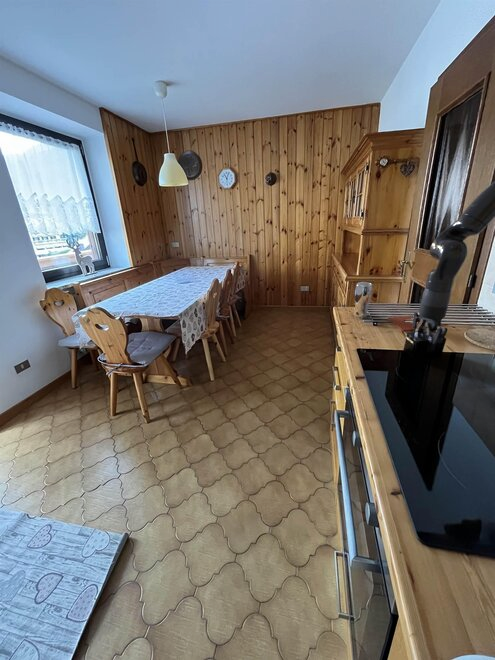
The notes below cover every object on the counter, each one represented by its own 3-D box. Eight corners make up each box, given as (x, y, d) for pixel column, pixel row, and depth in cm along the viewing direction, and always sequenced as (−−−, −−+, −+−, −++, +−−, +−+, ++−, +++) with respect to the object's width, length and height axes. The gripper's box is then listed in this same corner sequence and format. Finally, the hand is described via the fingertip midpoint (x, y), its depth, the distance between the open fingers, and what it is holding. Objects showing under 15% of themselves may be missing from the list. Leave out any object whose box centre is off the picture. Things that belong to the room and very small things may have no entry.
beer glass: (365, 311, 134) (370, 281, 127) (370, 318, 127) (374, 286, 121) (350, 312, 134) (354, 281, 127) (354, 318, 128) (358, 287, 121)
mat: (414, 316, 126) (414, 315, 126) (431, 328, 116) (431, 327, 115) (387, 318, 126) (387, 317, 126) (402, 331, 115) (402, 330, 115)
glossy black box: (430, 347, 102) (434, 330, 99) (441, 356, 97) (446, 338, 94) (401, 350, 102) (404, 333, 99) (410, 359, 97) (414, 341, 94)
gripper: (462, 309, 84) (448, 356, 92) (431, 293, 97) (421, 335, 105) (438, 311, 84) (425, 358, 92) (410, 295, 97) (401, 337, 105)
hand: (423, 346), depth 98 cm, fingers closed on glossy black box, 6 cm apart
